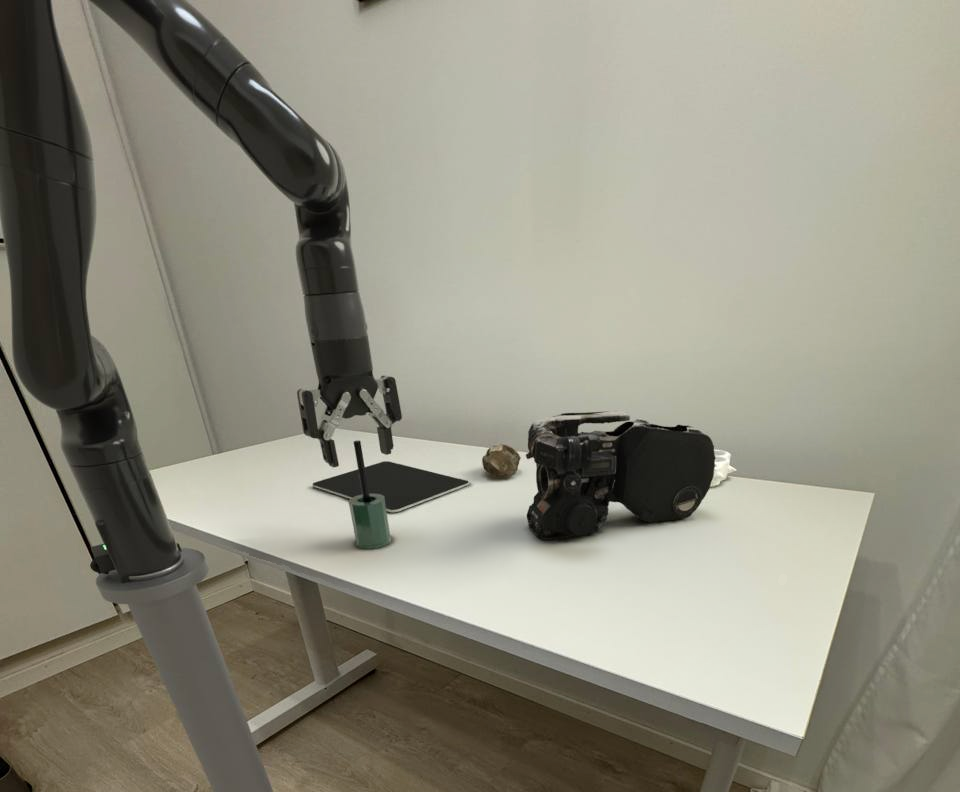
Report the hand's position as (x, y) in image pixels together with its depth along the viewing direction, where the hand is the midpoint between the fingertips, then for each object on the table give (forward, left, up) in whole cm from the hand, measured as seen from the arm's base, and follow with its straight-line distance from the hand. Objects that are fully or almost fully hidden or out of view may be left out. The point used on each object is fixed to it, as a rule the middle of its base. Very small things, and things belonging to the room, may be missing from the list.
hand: (360, 459), depth 81 cm
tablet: (+16, +24, -13) cm, 32 cm away
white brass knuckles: (+61, -15, -13) cm, 64 cm away
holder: (0, 0, -13) cm, 13 cm away
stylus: (0, 0, -12) cm, 12 cm away
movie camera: (+31, -21, -13) cm, 40 cm away
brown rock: (+37, +14, -13) cm, 42 cm away
